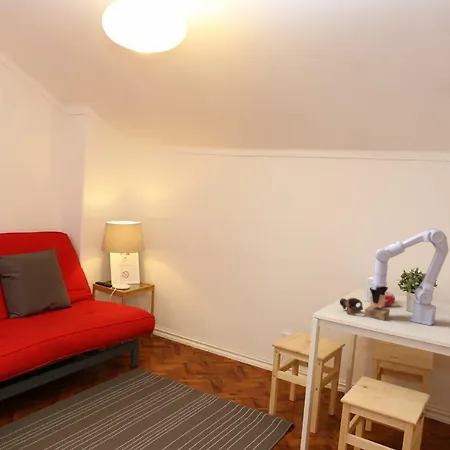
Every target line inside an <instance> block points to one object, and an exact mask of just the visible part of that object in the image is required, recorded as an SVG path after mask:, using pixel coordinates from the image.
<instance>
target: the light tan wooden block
mask: <svg viewBox="0 0 450 450" xmlns="http://www.w3.org/2000/svg"><path fill="white" fill-rule="evenodd" d="M390 311H391V310H390V308H386V307H381V308H380V307H376V306H371V305H370V306H368V307H366V308H364V317H366V318H368V319H369V318H370V319H374V320H377V321H378V320H379V321H385V320H386V319H388V318H389V317H390Z"/></svg>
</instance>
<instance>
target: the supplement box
mask: <svg viewBox="0 0 450 450" xmlns="http://www.w3.org/2000/svg"><path fill="white" fill-rule="evenodd" d="M373 280H374V276H370V277H367V278H366V286H365V287H366V288H365V297H364V298H365V300H364V301H365V302H369V303H371V302H370V296H371V294H372V293H371V291H370V288H371V287H372V285H373V284H372V283H371V282H373Z"/></svg>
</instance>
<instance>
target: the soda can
mask: <svg viewBox="0 0 450 450" xmlns="http://www.w3.org/2000/svg"><path fill="white" fill-rule="evenodd" d="M371 295H372V294H371ZM384 295H385V305H384V306H383V307H386V306H387V307H388V306H391V305H394V304H395V302H396V297H395V295H394V294H393V293H391V292H390V291H386V292H385V294H384ZM369 303H371V296H370V302H369Z"/></svg>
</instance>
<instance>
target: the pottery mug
mask: <svg viewBox="0 0 450 450" xmlns="http://www.w3.org/2000/svg"><path fill="white" fill-rule="evenodd" d="M339 304H340V306H341V307H342V308H343V310H346V314H347V315H350V314H356V313H357V314H358V313H359V312H361V311H363V310H364V308H363V302H362V301H361V299H358V298H356V297H350V298H348V299H346V298H341V299H340V300H339ZM357 304H359V306H357Z"/></svg>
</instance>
